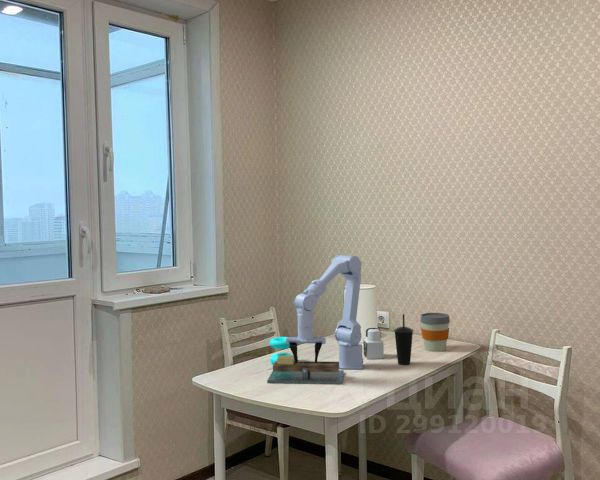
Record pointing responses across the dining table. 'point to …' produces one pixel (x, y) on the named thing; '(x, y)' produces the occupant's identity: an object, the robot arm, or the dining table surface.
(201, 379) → the dining table surface
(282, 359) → the block
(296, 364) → the brown long flat tray
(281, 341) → the donuts
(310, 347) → the dining table surface
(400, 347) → the drinking cup
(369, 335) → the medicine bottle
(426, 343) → the reusable coffee cup
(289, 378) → the stand
